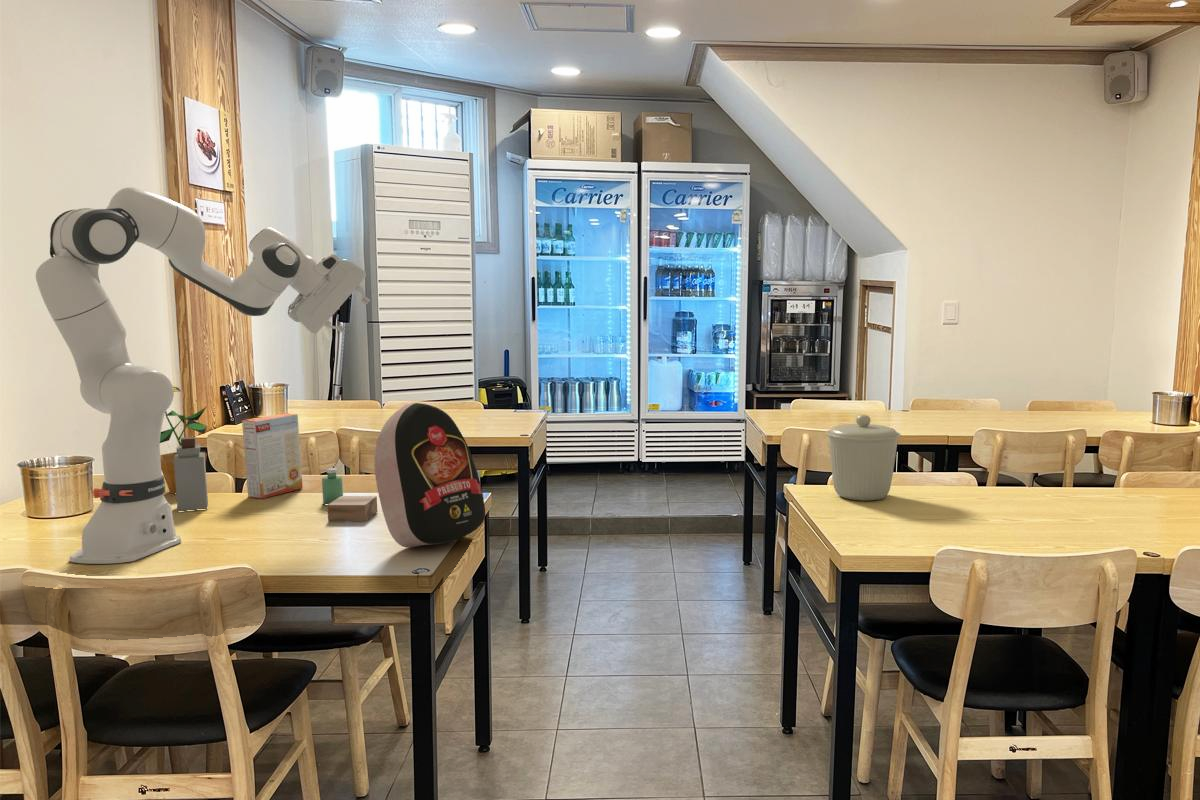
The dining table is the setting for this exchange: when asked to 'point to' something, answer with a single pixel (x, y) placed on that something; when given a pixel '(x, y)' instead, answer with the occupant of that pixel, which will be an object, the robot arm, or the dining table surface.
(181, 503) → the perfume bottle
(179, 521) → the dining table surface
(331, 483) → the green bottle
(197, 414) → the potted plant
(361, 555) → the dining table surface
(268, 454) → the cracker box
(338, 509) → the walnut block
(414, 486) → the packaged food
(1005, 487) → the dining table surface
